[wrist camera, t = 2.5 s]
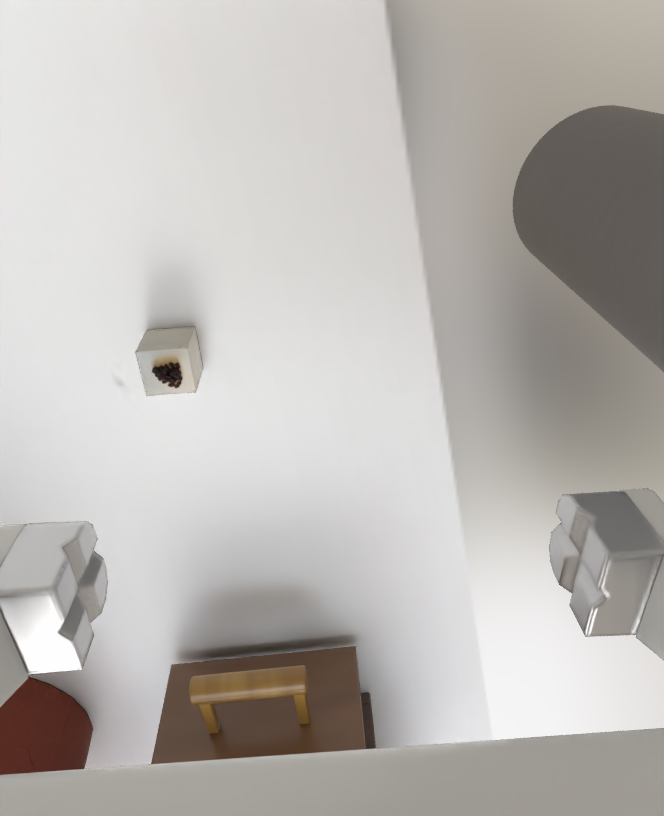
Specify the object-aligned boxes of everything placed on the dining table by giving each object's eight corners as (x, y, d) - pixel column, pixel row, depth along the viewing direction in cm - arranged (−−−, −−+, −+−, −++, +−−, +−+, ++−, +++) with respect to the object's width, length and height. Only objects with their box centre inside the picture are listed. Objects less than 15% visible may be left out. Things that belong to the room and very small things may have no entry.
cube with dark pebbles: (195, 325, 27) (186, 350, 25) (203, 368, 28) (196, 395, 26) (146, 329, 27) (133, 355, 25) (156, 371, 28) (145, 400, 26)
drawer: (154, 618, 35) (115, 776, 27) (350, 598, 35) (365, 751, 27) (213, 780, 44) (196, 932, 37) (368, 765, 44) (383, 913, 37)
